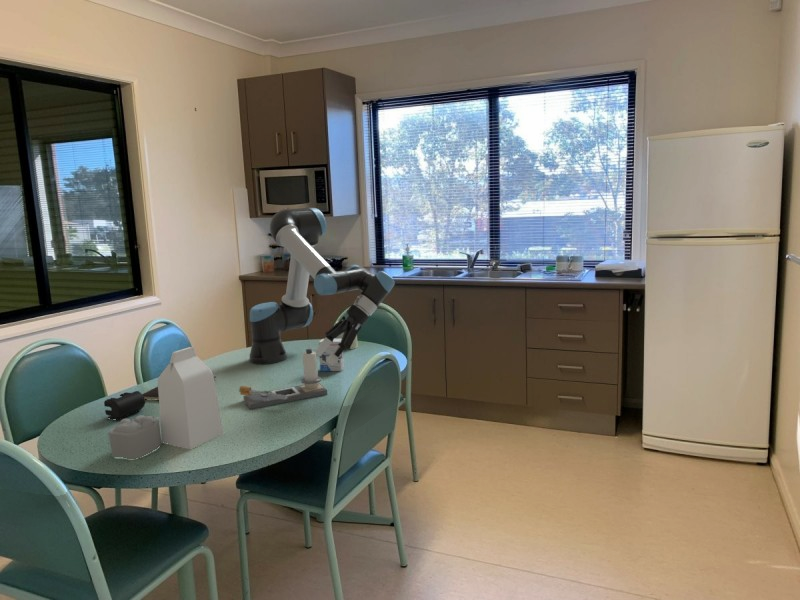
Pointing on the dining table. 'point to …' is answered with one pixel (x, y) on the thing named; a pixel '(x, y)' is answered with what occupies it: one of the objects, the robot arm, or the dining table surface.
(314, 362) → the plug
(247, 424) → the dining table surface
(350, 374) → the dining table surface
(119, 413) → the end cap
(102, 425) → the dining table surface
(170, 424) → the milk
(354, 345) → the cream tapered cylinder
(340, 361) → the ink box
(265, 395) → the clip
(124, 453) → the lumpy-topped squat cylinder
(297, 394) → the grey slotted tray
